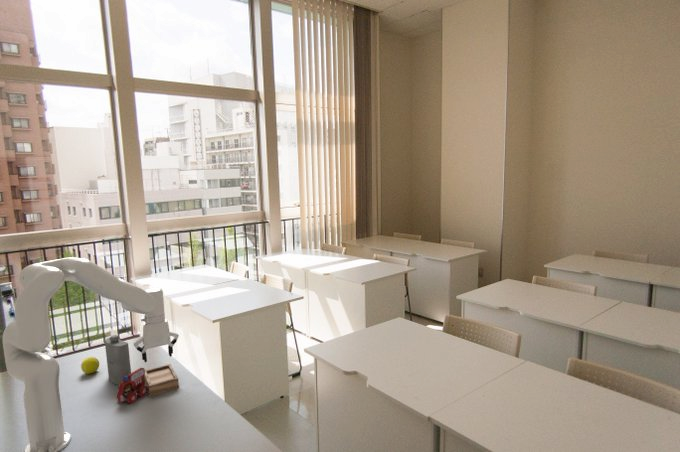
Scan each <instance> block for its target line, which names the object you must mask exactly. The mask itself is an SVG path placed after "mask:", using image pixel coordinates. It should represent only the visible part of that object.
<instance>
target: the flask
mask: <svg viewBox="0 0 680 452" xmlns="http://www.w3.org/2000/svg"><path fill="white" fill-rule="evenodd" d="M104 347H105V357H106V364H107V365H106V366H107V374H108V380H109V381H110V382H111V383H113V384H114V385H116V386H120V383H121V382H123V377H124V376H128V375H129V374H130V373H132V368H131V358H130V348H129V343H128V342H127V341H124V340H121V339H120V335H118V334H113V335H111V336H109V337H108V338H106V339H104ZM128 384H129V383H128Z"/></svg>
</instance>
